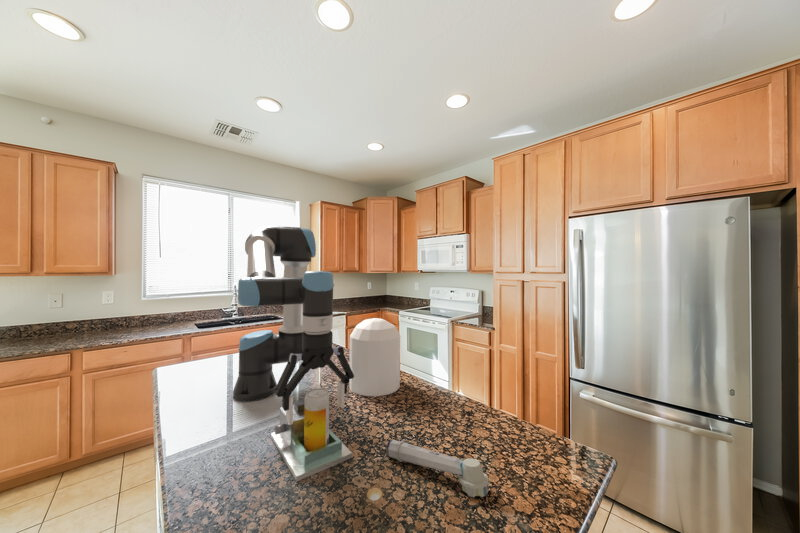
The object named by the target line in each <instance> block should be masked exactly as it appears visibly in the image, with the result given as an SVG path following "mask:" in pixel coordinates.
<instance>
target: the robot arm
mask: <svg viewBox="0 0 800 533" xmlns="http://www.w3.org/2000/svg"><path fill="white" fill-rule="evenodd" d="M316 246H317V243H316V238H315V235H314V232H313V230H312V229H310V228H308V227H307V228H305V227H301V226H299V227H295V226H281V225H279V226H278V225H267V226H263V227H260V228H258V229H255V231H252V232H251V234H249V236H248V237H247V238H246V240H245V243H244V251H245V254H246V255H247V269H246V270H247V271H246V272H247V274H246V276H247V277H242V278H239V279H238V282H237V283H238V285H237V286H238V288H237V300H238V301H237V302H238V304H239V306H242V307H261V306H262V307H264V306H281V305H283V306H282V307H283V310H282V311H283V312H282V314H283V315H282V316H283V317H282V325H281V326H280V327H279V328H278V333H274V331H273V330H271V329H266V330H265V329H263V330H257V331H253V332H249V333H247V334H244V335H243V336H241V338H240V339H239V343H238V344H239V345H238V349H237V350H238V351H239V352H238V376H237V379H236V382H235V385H234V388H233V391H232V398H233V399H234V400H235V401H237V402H247V403H249V402H255V401H260V400H264V399H267V398H270V397H271V396H273V395H275V396H276V397H277V398H280V397H281V399H282V400H281V402H282V403H281V404H282V406H281V407H283V409H284V411H286V421H287V422H288V424H289V425H291V424H293V404H294V395H292V393H293V392H294V391H295V389H296V388H297V387H298V385H299V383H300V382H301V381H302V380H303V378H304V376H305V375H306V374H307V373H309V371H310V370H317V369H318V368H325V366H327V367H328V368H329V369H330V370H331V371H332V372H333V373H334V374H335V375H336V376H337V377H338V379H339V380H337V396H336V398H337V400H336V402H337V403H336V405H337V406H338V407H339V408H341V409H344V408H345V394H347V393H348V384H349V379H353V378H354V374H353V372H352V370H351V368H350V363H349V362H348V360H347V358H346V356H345V351H344V350H345V349H344V347H343V346H341V345H339V344H337V345H335V347H333V332H332V331H331V330H333V326H334V325H333V321H334V320H333V317H334V315H333V314H334V313H333V312H334V286H335V283H334V275H333V273H332V272H331V271H324V270H312V271H308V266H309V265H310V264H311V263H312V259H313V258H315V257H316V255H317V253H316V252H317V247H316ZM274 257H280V259H279V260H280V263H281V264H282V265H283V266H284V268H283V269H284V270H283V271H284V272H283V274H284V275H283V276H282V277H281V276H280V277H277V276H276V269H275V268H276V267H275V261H274ZM333 355H336V356H337V360H338V361H339V363H340V366H341V368H342V369H343V371H344V373H345V374H344V373H343V372H342V370H340V368H339V367H338V366H337V365H336V364H335V363H334V362H333V361H332V359H331V358H332V357H333ZM300 361H302V362H301V363H300V365H299V366H298V369H297V370H296V371H295V373H294V374H293V372H294V370H295V368H296V365H297V364H298V363H299V362H300ZM285 363H286V365H285V367H284V370H283V371H282V374H281V376H280V378H279V380H278V382H277V381H276V377H275V375H274V371H273V365H277V364H285ZM292 374H293V375H292Z"/></svg>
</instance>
